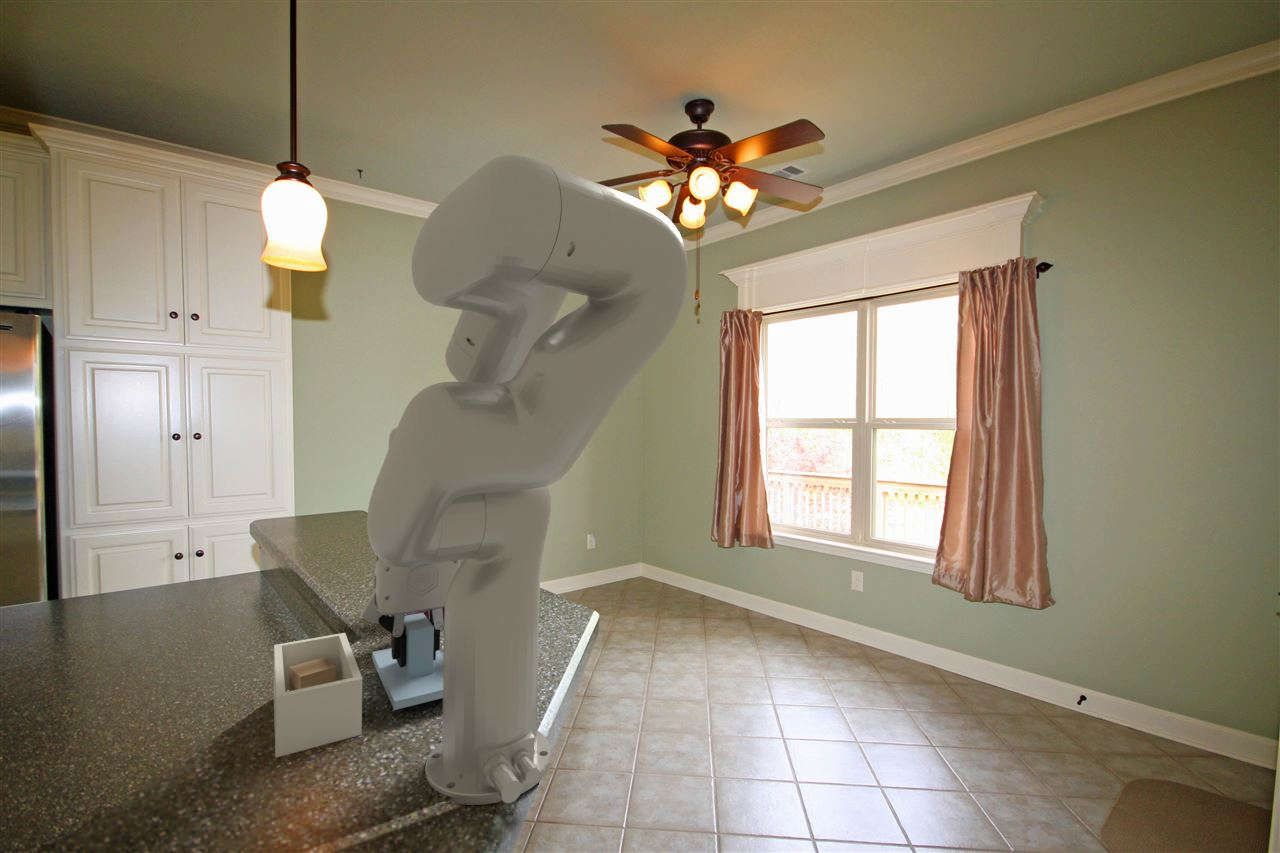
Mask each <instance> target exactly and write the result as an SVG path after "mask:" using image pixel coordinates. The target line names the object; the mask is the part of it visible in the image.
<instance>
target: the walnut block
mask: <svg viewBox="0 0 1280 853" xmlns="http://www.w3.org/2000/svg"><path fill="white" fill-rule="evenodd" d="M335 681H336V666H335V665H334V664H332V663H331V662H330V661H328V660H327V659H326V658H324V657H323V658H319V659H316V660H312V661H309V662H305V663H302V664H298V665H295V666H291V667H289V691H293V690H298V689H302V688H307V687H312V686H316V685H321V684H326V683H330V682H335Z"/></svg>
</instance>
